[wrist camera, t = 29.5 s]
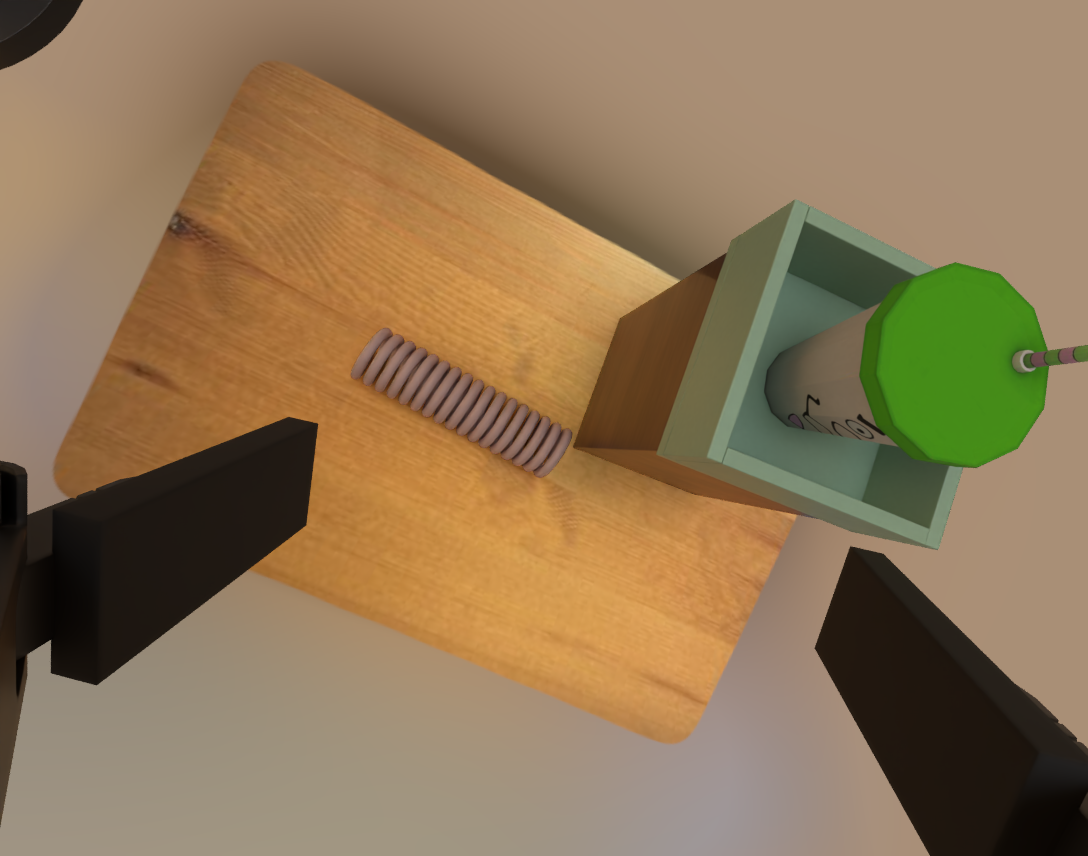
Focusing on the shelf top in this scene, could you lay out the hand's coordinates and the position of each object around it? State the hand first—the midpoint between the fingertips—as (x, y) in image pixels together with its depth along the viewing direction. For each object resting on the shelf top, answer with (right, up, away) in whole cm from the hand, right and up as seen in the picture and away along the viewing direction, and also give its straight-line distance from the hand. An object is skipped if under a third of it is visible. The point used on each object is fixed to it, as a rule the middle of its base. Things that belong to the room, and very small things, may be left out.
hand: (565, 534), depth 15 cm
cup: (+13, +5, +19) cm, 24 cm away
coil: (-7, +4, +36) cm, 37 cm away
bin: (+13, +5, +20) cm, 24 cm away
